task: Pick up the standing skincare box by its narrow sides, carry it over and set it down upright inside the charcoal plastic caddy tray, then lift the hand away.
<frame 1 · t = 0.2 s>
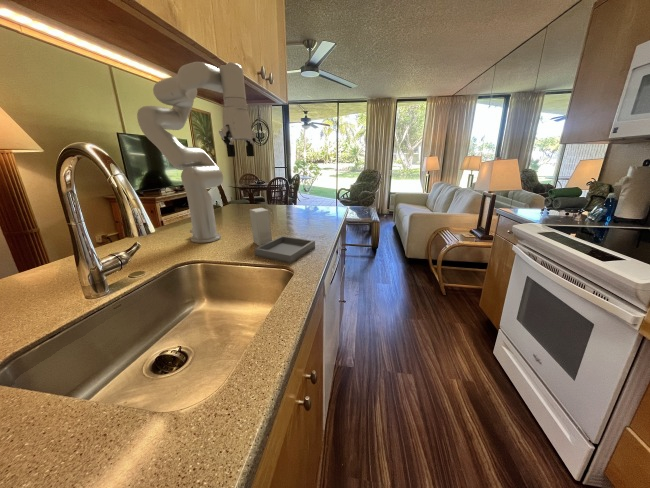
hand: (241, 156, 98), 36 cm above the worktop, tool pointing down, fingers open, 9 cm apart
caddy tray: (286, 251, 104), on the worktop
skincare box: (262, 243, 113), on the worktop
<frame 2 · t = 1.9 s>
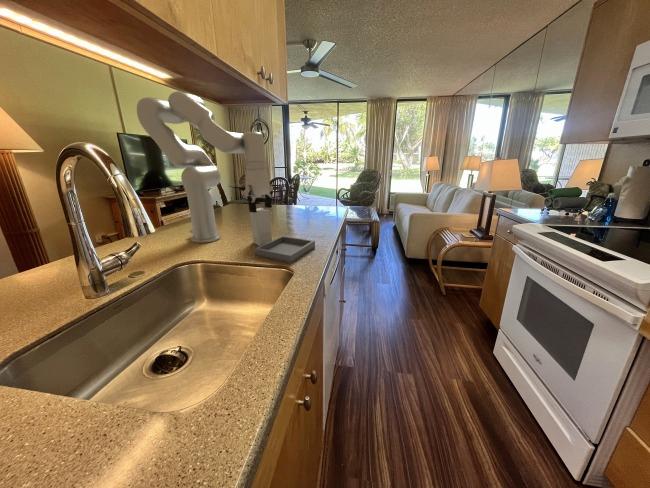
hand: (261, 209, 108), 15 cm above the worktop, tool pointing down, fingers open, 9 cm apart
skincare box: (262, 243, 113), on the worktop, touching gripper
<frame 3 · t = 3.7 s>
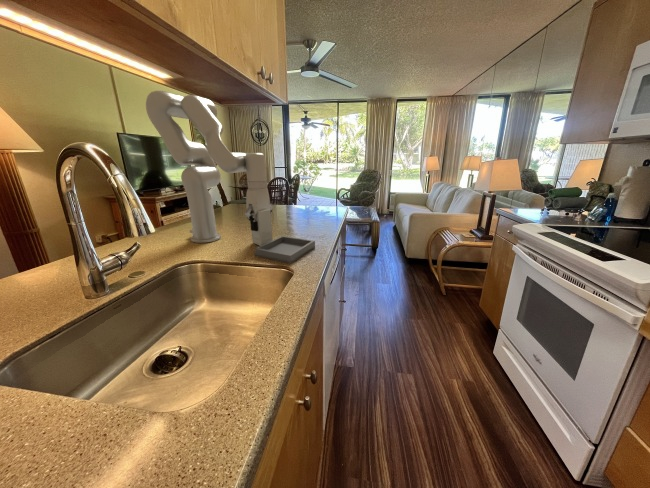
hand: (261, 227, 111), 7 cm above the worktop, tool pointing down, fingers closed on skincare box, 7 cm apart
skincare box: (262, 243, 113), on the worktop, touching gripper
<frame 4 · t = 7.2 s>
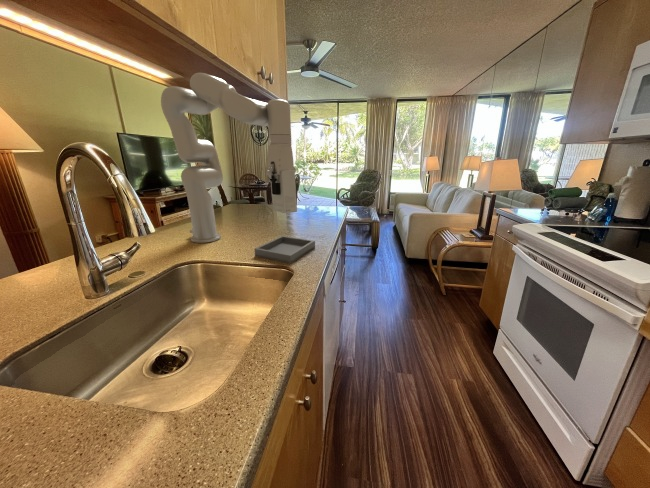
hand: (283, 192, 96), 23 cm above the worktop, tool pointing down, fingers closed on skincare box, 7 cm apart
skincare box: (284, 211, 98), point 16 cm above the worktop, touching gripper
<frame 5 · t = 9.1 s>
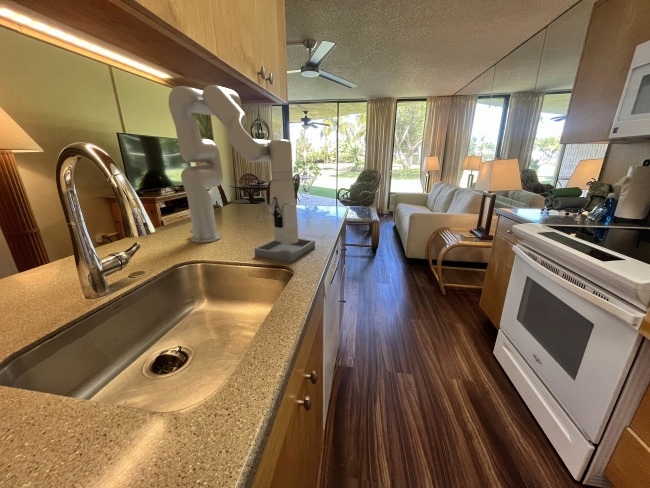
hand: (284, 224, 100), 11 cm above the worktop, tool pointing down, fingers closed on skincare box, 7 cm apart
skincare box: (286, 242, 102), point 4 cm above the worktop, touching gripper
when the fingers open (9 cm above the worktop, at t = 10.7 s): skincare box stays where it is, resting on caddy tray.
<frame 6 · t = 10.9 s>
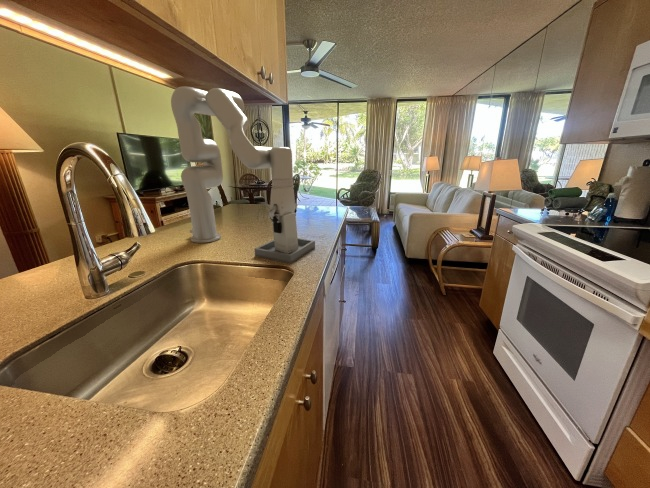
hand: (285, 229, 101), 9 cm above the worktop, tool pointing down, fingers open, 9 cm apart
skincare box: (286, 250, 103), point 1 cm above the worktop, touching caddy tray
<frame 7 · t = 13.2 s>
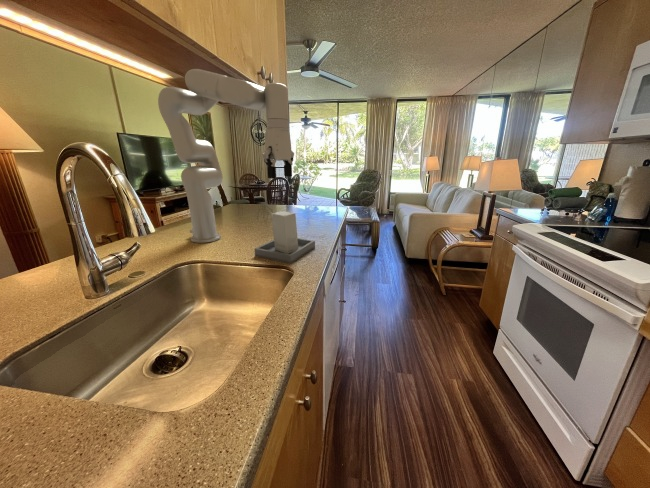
hand: (280, 177, 95), 28 cm above the worktop, tool pointing down, fingers open, 9 cm apart
nothing on the worktop moved.
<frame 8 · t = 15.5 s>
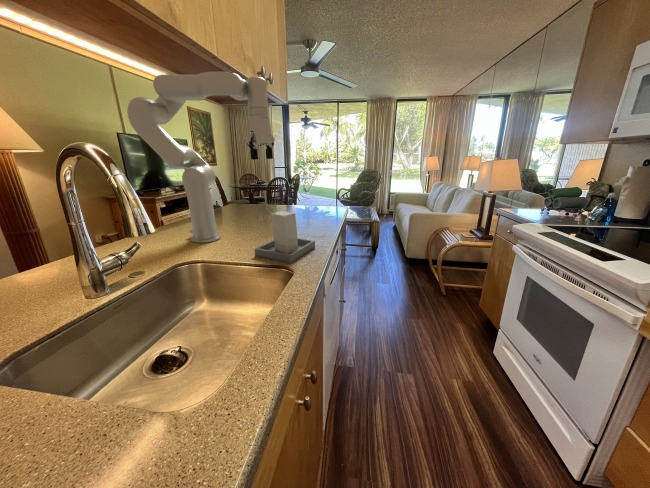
hand: (262, 159, 110), 34 cm above the worktop, tool pointing down, fingers open, 9 cm apart
nothing on the worktop moved.
at the end: skincare box inside the target area on the caddy tray (0.2 cm from its centre), point 0.6 cm above the caddy tray's base; skincare box tilted 0°; the gripper is holding nothing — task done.
